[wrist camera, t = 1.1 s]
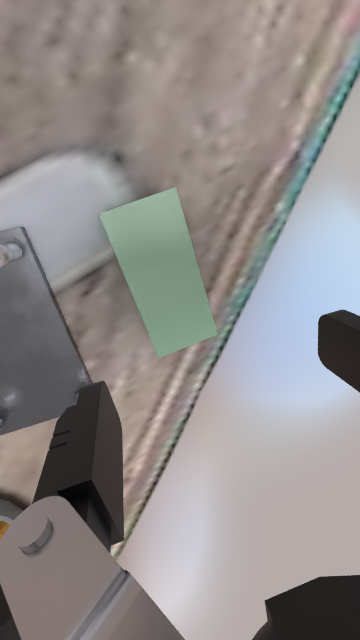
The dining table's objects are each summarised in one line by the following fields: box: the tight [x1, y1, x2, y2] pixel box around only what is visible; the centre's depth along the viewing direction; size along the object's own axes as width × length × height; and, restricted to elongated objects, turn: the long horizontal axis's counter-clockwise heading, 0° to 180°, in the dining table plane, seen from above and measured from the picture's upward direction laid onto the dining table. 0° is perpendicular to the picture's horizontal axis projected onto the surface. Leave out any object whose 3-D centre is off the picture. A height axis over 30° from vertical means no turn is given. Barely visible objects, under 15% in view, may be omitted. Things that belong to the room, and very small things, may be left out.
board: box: [98, 187, 218, 358], centre depth 22 cm, size 12×6×5 cm, turn 18°
